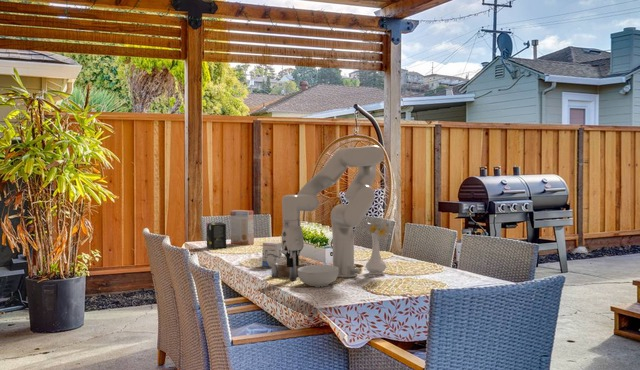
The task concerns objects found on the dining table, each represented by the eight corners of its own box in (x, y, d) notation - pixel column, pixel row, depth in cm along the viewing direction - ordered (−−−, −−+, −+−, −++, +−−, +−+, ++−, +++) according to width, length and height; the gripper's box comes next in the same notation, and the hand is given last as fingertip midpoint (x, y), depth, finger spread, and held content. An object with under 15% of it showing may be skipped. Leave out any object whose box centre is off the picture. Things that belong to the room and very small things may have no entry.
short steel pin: (279, 277, 262) (279, 263, 262) (275, 278, 260) (275, 264, 259) (274, 276, 264) (274, 262, 264) (270, 277, 261) (269, 263, 261)
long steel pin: (298, 278, 256) (297, 246, 255) (293, 280, 253) (292, 247, 253) (292, 278, 258) (291, 246, 257) (288, 279, 255) (287, 247, 255)
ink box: (261, 266, 290) (261, 242, 289) (267, 264, 294) (267, 240, 293) (276, 267, 286) (276, 243, 285) (282, 265, 290) (282, 241, 289)
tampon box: (206, 247, 356) (205, 222, 355) (221, 246, 360) (221, 221, 359) (211, 249, 346) (210, 224, 345) (226, 248, 350) (226, 223, 349)
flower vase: (375, 278, 256) (374, 220, 255) (355, 271, 273) (354, 217, 272) (401, 276, 262) (400, 219, 260) (379, 269, 278) (379, 216, 277)
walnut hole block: (304, 274, 267) (304, 263, 266) (293, 277, 260) (293, 266, 260) (287, 272, 272) (287, 261, 272) (275, 275, 266) (275, 264, 266)
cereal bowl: (315, 279, 256) (315, 263, 256) (346, 284, 246) (346, 267, 246) (289, 286, 243) (289, 268, 243) (320, 291, 233) (320, 273, 232)
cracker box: (254, 244, 366) (253, 210, 365) (248, 245, 361) (247, 211, 360) (236, 242, 374) (236, 209, 373) (230, 243, 369) (229, 210, 368)
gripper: (286, 226, 246) (287, 270, 247) (310, 222, 259) (311, 264, 260) (272, 225, 250) (273, 268, 251) (296, 221, 263) (297, 262, 264)
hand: (292, 265), depth 255 cm, fingers closed on long steel pin, 3 cm apart
